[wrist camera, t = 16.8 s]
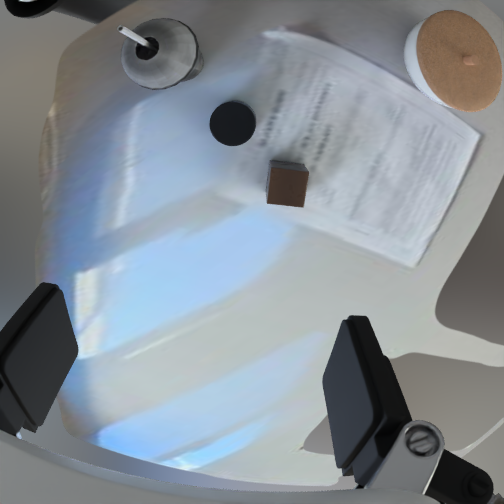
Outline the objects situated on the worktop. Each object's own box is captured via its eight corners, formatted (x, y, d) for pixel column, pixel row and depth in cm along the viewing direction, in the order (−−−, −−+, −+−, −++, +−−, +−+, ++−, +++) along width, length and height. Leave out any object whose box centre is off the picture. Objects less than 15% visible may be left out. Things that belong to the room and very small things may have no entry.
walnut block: (265, 192, 43) (266, 203, 39) (269, 160, 41) (271, 167, 37) (299, 196, 43) (303, 207, 39) (304, 164, 41) (309, 172, 37)
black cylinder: (214, 137, 40) (207, 144, 34) (217, 99, 37) (211, 100, 32) (253, 140, 40) (253, 148, 34) (257, 102, 38) (258, 103, 32)
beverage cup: (171, 100, 37) (103, 108, 20) (149, 54, 34) (68, 32, 17) (223, 75, 36) (194, 57, 18) (200, 28, 33) (153, -23, 15)
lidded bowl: (473, 53, 32) (521, 51, 22) (448, 122, 37) (494, 134, 27) (405, 5, 30) (445, -14, 20) (376, 77, 35) (413, 74, 25)
